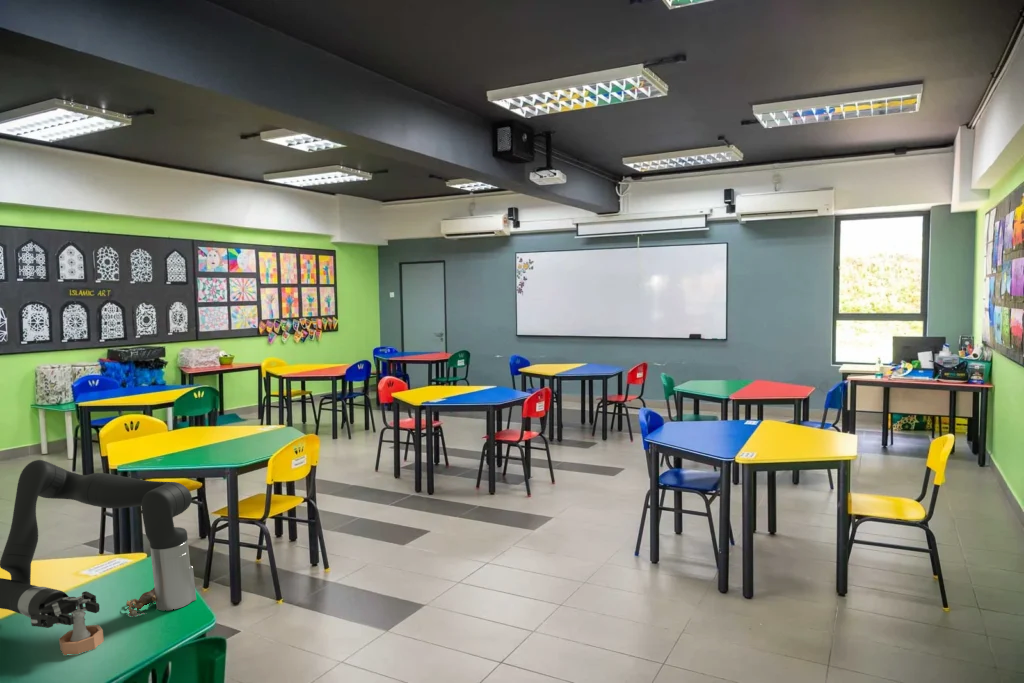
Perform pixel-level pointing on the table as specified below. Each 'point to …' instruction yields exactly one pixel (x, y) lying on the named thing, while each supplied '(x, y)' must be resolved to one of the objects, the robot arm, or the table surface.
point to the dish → (82, 645)
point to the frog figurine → (141, 602)
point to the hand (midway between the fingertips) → (84, 614)
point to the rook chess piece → (79, 626)
